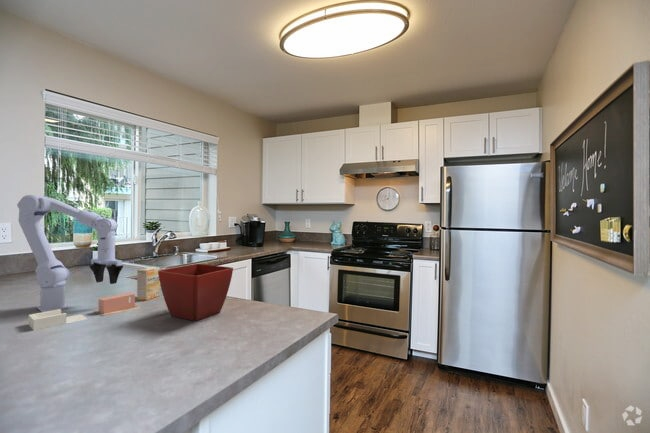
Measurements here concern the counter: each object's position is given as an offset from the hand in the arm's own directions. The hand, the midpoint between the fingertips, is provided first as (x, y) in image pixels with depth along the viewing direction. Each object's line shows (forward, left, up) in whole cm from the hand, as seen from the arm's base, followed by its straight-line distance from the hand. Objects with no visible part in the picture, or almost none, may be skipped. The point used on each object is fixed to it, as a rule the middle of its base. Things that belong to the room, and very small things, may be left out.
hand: (106, 282), depth 127 cm
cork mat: (+9, +1, -9) cm, 13 cm away
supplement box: (0, +16, -10) cm, 19 cm away
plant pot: (+36, +18, -10) cm, 41 cm away
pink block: (+9, +1, -9) cm, 13 cm away
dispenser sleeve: (+9, -14, -9) cm, 19 cm away
